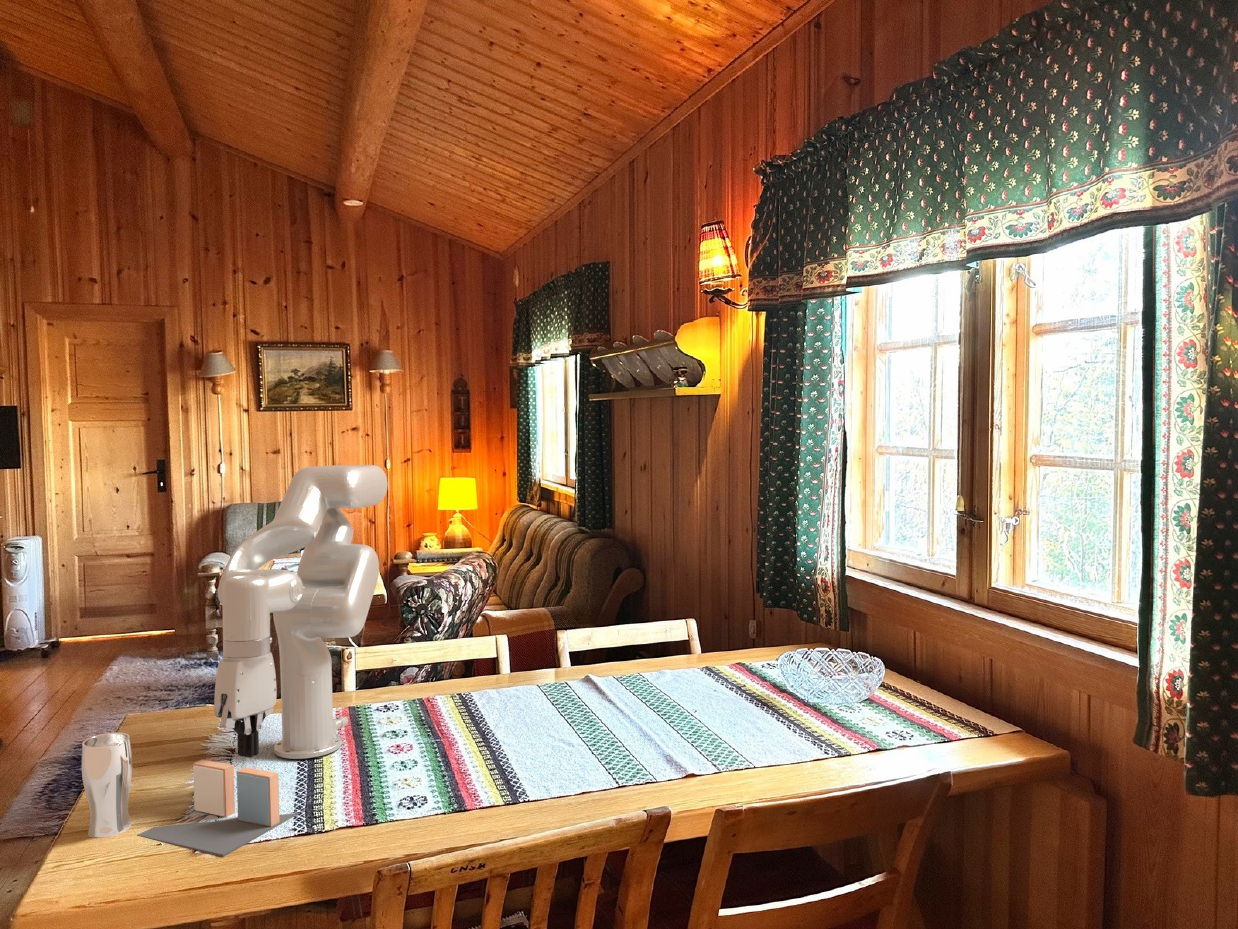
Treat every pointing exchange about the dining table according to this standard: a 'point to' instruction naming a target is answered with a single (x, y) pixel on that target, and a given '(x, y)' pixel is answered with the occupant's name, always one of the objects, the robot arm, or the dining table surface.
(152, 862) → the dining table surface
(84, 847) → the dining table surface
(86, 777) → the beer glass
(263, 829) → the rubber mat
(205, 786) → the terracotta tile
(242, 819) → the peach flat block
